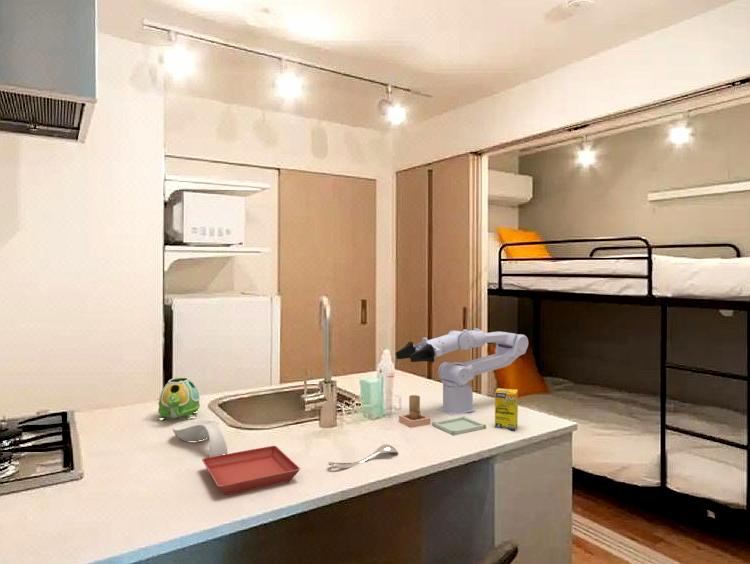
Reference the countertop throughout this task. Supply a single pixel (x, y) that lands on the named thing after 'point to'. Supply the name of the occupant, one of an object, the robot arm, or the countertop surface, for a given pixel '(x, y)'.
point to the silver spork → (381, 449)
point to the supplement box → (506, 409)
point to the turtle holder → (178, 399)
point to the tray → (458, 425)
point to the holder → (414, 423)
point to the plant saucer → (250, 469)
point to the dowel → (414, 407)
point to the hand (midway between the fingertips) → (403, 357)
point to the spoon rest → (203, 435)
